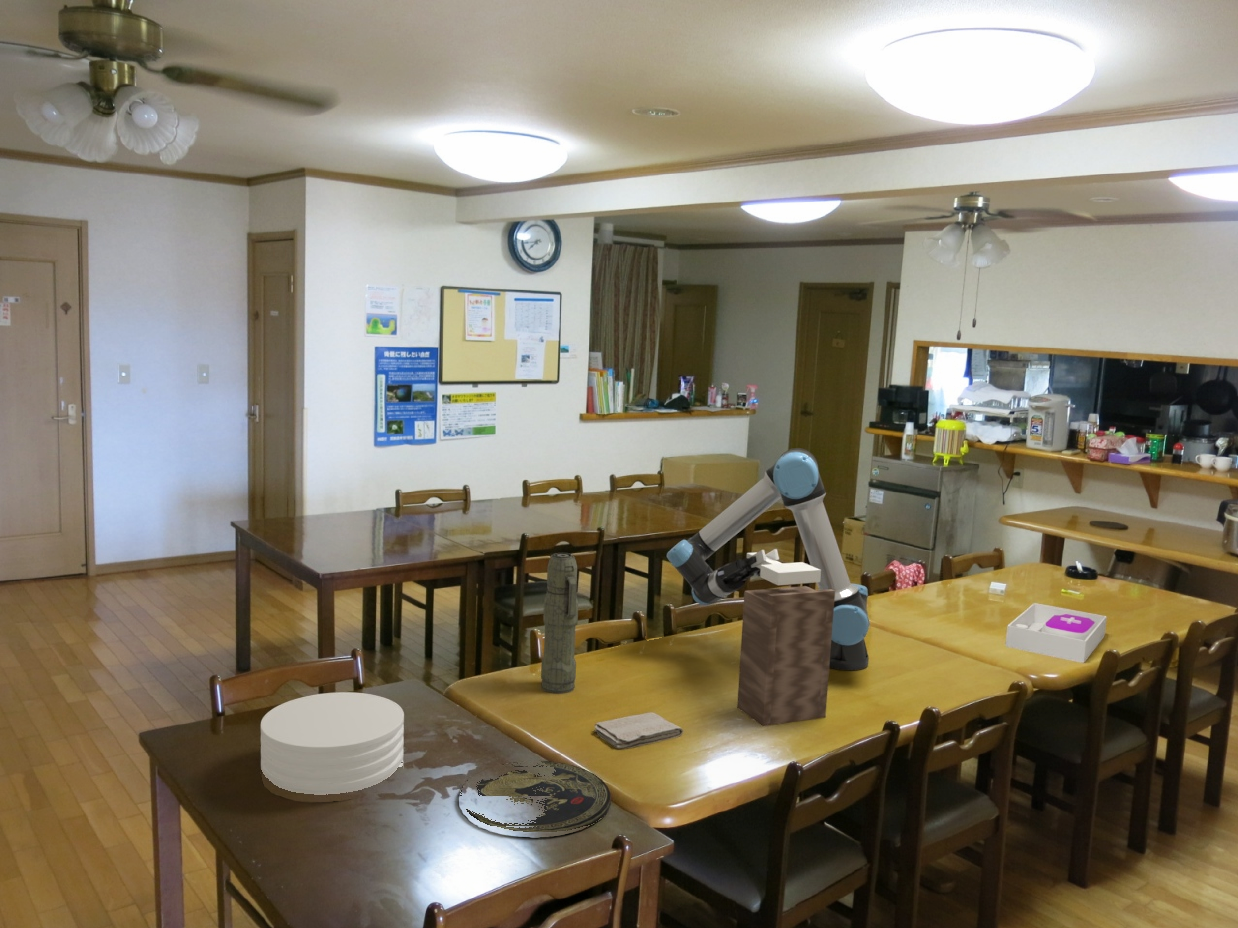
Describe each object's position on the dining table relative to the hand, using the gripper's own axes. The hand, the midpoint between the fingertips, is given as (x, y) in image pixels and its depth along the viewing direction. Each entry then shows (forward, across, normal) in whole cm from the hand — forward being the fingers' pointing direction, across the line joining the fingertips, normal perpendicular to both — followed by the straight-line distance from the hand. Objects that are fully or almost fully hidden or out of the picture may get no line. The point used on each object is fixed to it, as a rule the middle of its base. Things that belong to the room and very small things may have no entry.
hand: (770, 554), depth 245 cm
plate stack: (-13, +107, -37) cm, 114 cm away
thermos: (-39, +47, -22) cm, 65 cm away
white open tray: (-32, -118, -26) cm, 125 cm away
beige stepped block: (0, 0, -5) cm, 5 cm away
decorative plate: (+9, +72, -49) cm, 88 cm away
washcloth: (-11, +40, -38) cm, 56 cm away
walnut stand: (-11, 0, -37) cm, 39 cm away
